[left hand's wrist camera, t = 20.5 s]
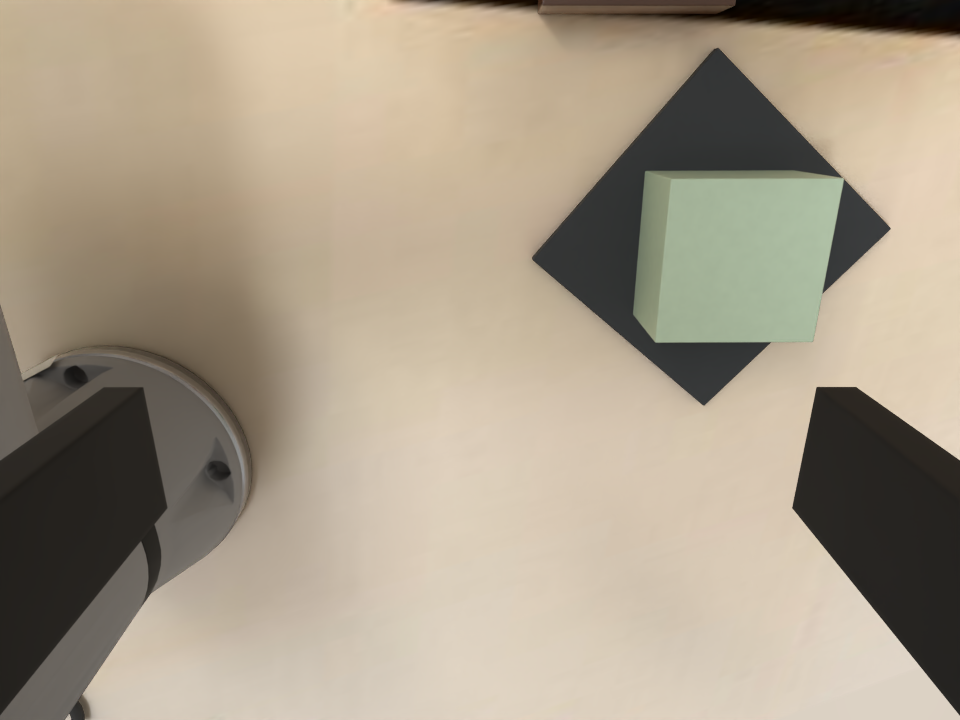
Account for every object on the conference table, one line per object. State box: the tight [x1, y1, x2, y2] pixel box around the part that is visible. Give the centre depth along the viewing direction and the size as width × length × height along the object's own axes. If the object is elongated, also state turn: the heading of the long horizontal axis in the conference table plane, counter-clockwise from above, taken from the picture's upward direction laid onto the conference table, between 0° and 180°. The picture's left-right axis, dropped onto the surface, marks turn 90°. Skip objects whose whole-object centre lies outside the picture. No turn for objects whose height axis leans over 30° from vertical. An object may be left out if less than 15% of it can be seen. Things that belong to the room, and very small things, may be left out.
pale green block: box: [633, 170, 844, 343], centre depth 33 cm, size 8×8×5 cm
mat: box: [532, 48, 891, 405], centre depth 36 cm, size 14×14×1 cm
